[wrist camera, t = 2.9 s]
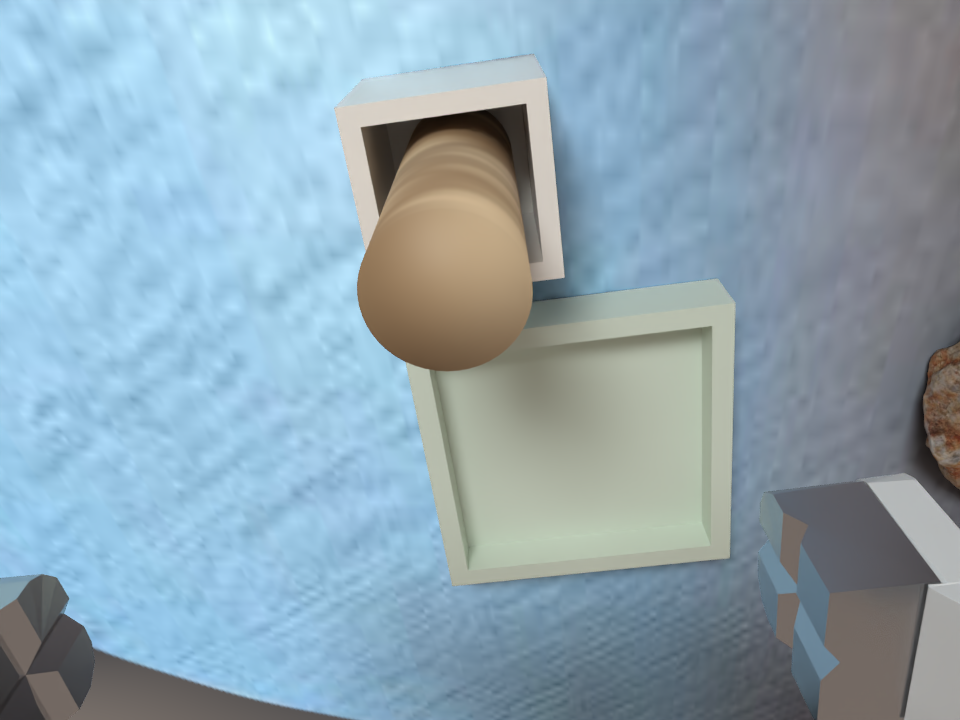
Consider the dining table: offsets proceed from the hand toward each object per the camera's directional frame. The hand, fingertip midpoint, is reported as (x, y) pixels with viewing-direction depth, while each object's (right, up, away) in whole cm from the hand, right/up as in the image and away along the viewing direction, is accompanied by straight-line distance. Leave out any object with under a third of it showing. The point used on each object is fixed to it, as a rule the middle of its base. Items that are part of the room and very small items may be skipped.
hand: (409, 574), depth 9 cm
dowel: (0, +9, +17) cm, 20 cm away
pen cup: (0, +10, +18) cm, 20 cm away
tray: (+5, 0, +23) cm, 24 cm away
